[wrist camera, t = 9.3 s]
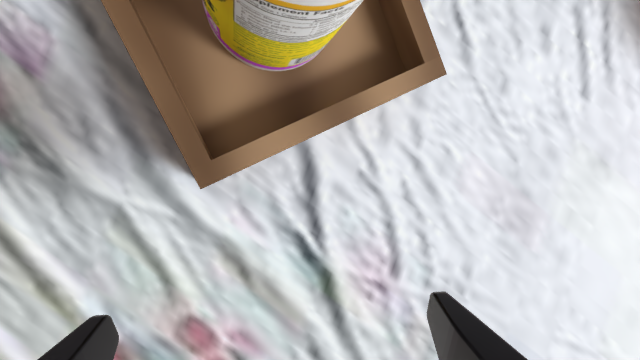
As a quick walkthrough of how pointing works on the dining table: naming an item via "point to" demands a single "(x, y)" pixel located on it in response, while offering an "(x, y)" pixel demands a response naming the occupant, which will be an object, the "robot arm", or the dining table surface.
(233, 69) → the walnut tray
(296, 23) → the supplement bottle
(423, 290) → the dining table surface
